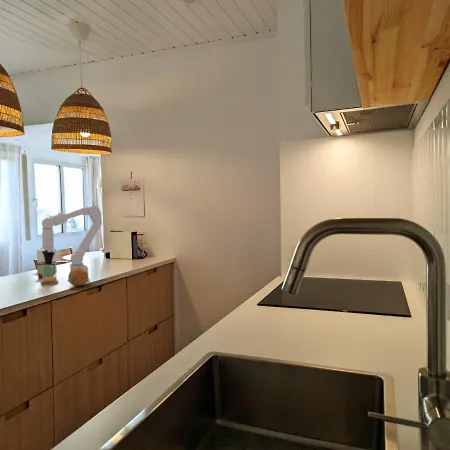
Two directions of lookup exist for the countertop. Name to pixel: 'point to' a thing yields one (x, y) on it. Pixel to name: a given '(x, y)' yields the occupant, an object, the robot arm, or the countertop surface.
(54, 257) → the supplement box
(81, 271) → the onion
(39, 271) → the food container
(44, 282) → the walnut slab
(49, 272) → the green cube
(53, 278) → the oak slab
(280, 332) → the countertop surface
